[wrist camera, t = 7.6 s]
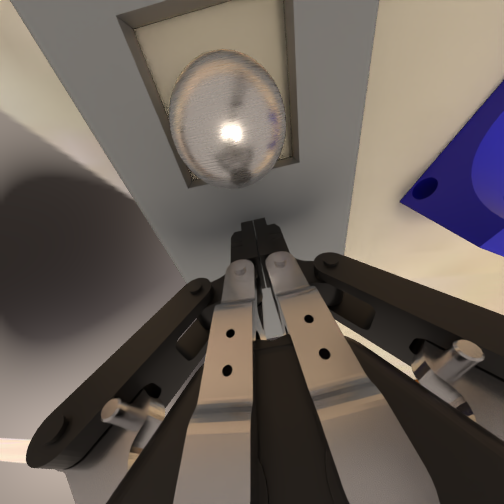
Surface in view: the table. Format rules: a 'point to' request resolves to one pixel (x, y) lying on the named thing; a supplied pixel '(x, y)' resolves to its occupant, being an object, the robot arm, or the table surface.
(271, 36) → the table surface
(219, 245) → the pocket slab
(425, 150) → the table surface
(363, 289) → the robot arm
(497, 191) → the cable clip
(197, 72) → the steel ball
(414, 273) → the table surface
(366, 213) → the table surface
